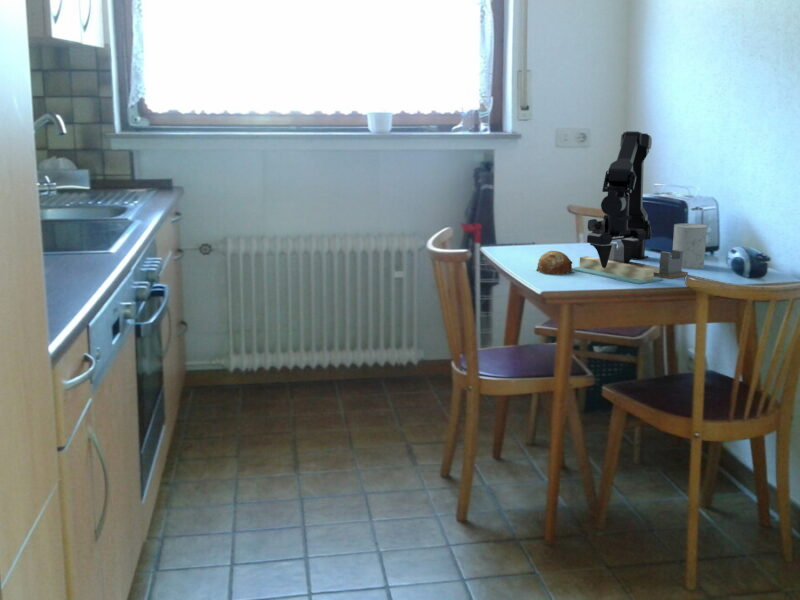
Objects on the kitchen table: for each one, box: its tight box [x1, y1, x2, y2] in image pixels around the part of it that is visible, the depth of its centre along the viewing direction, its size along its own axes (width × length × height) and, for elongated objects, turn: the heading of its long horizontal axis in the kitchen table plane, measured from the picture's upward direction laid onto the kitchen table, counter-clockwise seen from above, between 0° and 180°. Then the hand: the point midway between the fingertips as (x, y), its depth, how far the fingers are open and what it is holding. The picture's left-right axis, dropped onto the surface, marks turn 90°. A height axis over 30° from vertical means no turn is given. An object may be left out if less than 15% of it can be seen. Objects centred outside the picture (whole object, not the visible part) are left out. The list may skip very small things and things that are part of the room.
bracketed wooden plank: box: [608, 240, 689, 280], centre depth 260 cm, size 26×8×7 cm, turn 35°
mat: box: [571, 266, 664, 285], centre depth 254 cm, size 10×26×1 cm, turn 35°
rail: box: [579, 255, 655, 281], centre depth 253 cm, size 25×3×3 cm, turn 35°
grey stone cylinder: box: [672, 222, 708, 270], centre depth 266 cm, size 10×10×12 cm
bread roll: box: [535, 250, 573, 275], centre depth 258 cm, size 10×10×8 cm
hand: (615, 266), depth 253 cm, fingers open, 9 cm apart
